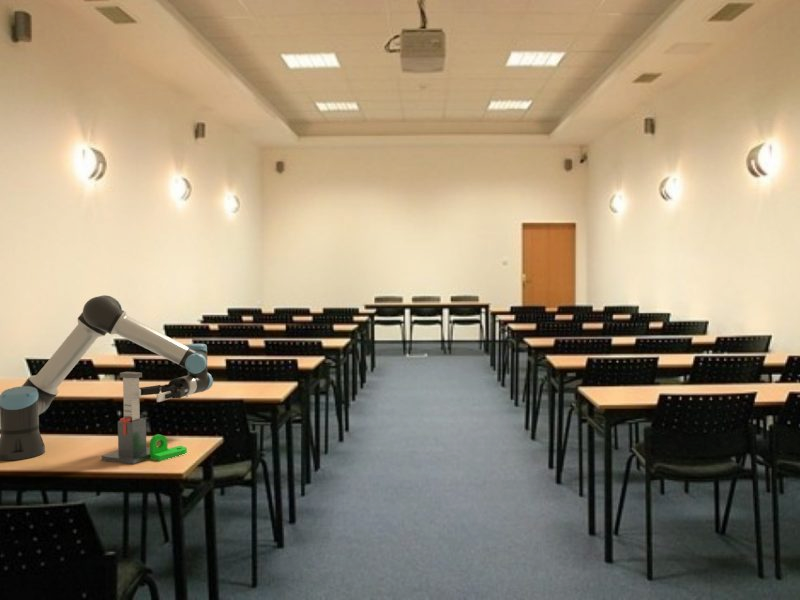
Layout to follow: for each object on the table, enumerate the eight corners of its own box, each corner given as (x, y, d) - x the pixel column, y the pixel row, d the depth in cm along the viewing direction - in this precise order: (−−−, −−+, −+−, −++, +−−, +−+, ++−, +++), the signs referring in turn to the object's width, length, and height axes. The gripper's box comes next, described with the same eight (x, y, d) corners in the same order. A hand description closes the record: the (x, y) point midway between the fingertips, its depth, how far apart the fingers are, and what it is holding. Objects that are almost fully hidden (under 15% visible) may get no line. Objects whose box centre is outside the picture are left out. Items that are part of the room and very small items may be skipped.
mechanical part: (159, 461, 215) (159, 438, 214) (150, 458, 218) (149, 436, 218) (190, 453, 224) (190, 431, 224) (180, 451, 228) (180, 429, 228)
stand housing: (101, 460, 216) (100, 419, 215) (131, 449, 229) (130, 411, 229) (133, 464, 211) (132, 422, 211) (162, 453, 224) (162, 413, 224)
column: (120, 451, 220) (118, 373, 219) (128, 448, 223) (126, 371, 222) (136, 453, 217) (134, 374, 216) (144, 450, 221) (142, 372, 220)
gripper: (208, 398, 239) (170, 409, 219) (155, 394, 248) (114, 405, 228) (208, 379, 239) (170, 388, 219) (155, 375, 247) (114, 384, 227)
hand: (141, 396), depth 223 cm, fingers open, 13 cm apart
